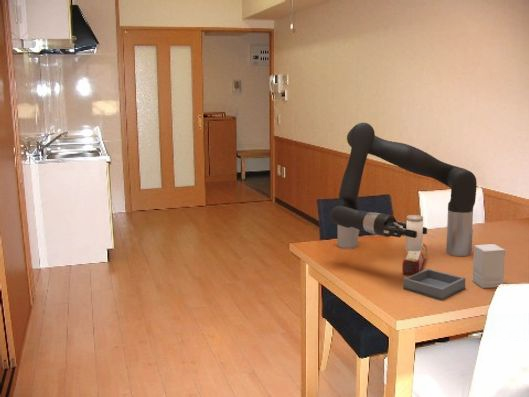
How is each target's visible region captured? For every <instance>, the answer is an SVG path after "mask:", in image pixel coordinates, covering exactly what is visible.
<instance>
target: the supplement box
mask: <svg viewBox="0 0 529 397" xmlns="http://www.w3.org/2000/svg"><path fill="white" fill-rule="evenodd" d="M505 257H506V249H504V248H502V247H500V246H498V245H497V244H495V243H491V244H477V245H476V244H475V245H473V259H472V260H473V261H472V282H474V283H475V284H476V285H477V286H479V287H481V288H482V289H486V288H487V289H488V288H490V289H493V288H498V287H497V286H498V285H500V284H503V285H504V279H505V278H504V276H505V260H506V258H505Z"/></svg>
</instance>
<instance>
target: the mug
mask: <svg viewBox="0 0 529 397" xmlns="http://www.w3.org/2000/svg"><path fill="white" fill-rule="evenodd" d="M359 234H360V230H358V229H356V228H353V227H350V228H346V227H343V226H340V225H338V224H337V240H336V241H337V244H336V245H337V246H338V248H340V249H346V250H347V249H348V250H350V248H352V249H356V248H358V247H359ZM357 246H358V247H357ZM355 247H356V248H355Z"/></svg>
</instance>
